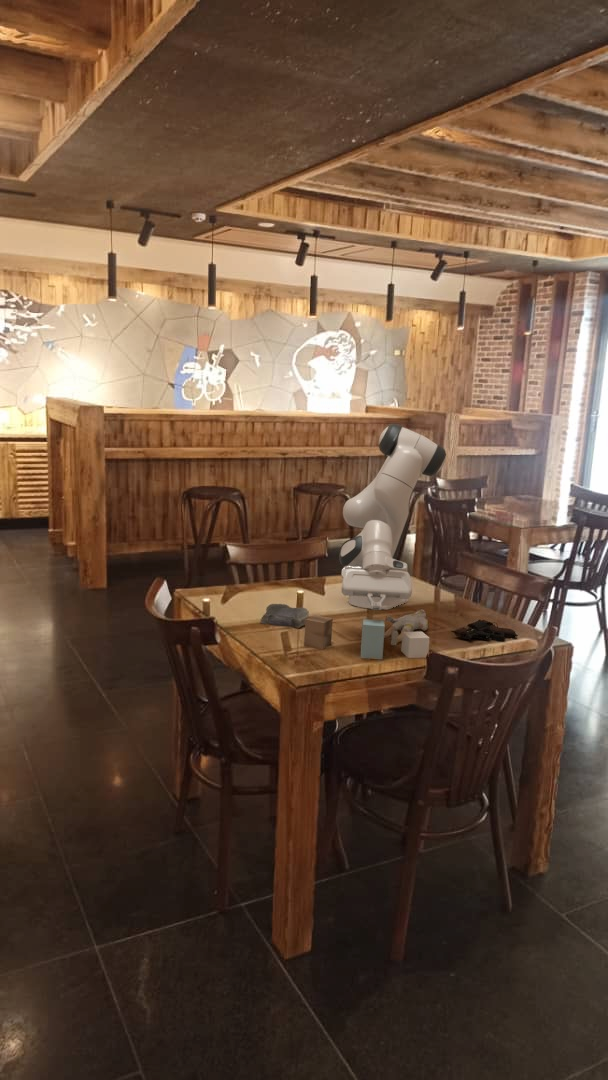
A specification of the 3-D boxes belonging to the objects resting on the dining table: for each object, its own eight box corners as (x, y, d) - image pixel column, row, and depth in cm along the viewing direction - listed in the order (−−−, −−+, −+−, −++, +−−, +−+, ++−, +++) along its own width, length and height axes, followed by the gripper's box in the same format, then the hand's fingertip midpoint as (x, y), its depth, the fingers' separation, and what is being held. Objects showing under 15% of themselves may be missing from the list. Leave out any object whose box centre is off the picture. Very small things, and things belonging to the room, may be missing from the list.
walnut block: (313, 640, 235) (314, 614, 234) (331, 644, 233) (332, 618, 231) (303, 645, 230) (305, 619, 229) (322, 649, 227) (323, 623, 226)
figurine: (365, 624, 238) (405, 600, 263) (364, 643, 240) (404, 618, 265) (405, 633, 232) (442, 607, 257) (404, 653, 233) (441, 625, 258)
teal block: (360, 652, 227) (363, 618, 225) (381, 653, 227) (383, 620, 225) (360, 658, 221) (363, 624, 219) (382, 660, 221) (384, 626, 219)
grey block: (401, 651, 230) (402, 631, 229) (420, 651, 231) (422, 631, 230) (408, 658, 224) (409, 638, 223) (427, 657, 226) (429, 637, 224)
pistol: (522, 629, 250) (480, 614, 259) (495, 641, 236) (452, 625, 245) (519, 642, 251) (478, 626, 260) (492, 654, 237) (449, 637, 246)
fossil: (303, 630, 246) (303, 619, 245) (255, 624, 250) (256, 612, 249) (315, 618, 260) (316, 607, 260) (270, 612, 265) (271, 601, 264)
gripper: (342, 559, 228) (339, 600, 220) (412, 564, 227) (412, 605, 219) (341, 571, 233) (339, 612, 225) (410, 575, 232) (410, 616, 224)
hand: (376, 608), depth 222 cm, fingers closed
